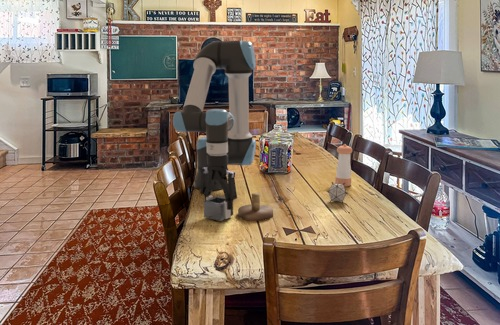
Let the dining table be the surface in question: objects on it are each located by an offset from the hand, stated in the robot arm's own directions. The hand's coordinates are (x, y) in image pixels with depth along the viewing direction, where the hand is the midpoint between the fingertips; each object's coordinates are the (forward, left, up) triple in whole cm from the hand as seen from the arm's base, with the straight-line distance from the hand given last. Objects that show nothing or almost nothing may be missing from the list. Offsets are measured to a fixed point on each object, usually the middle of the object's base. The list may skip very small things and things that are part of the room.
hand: (218, 215), depth 155 cm
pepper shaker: (+20, +70, -1) cm, 73 cm away
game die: (+28, +43, -1) cm, 51 cm away
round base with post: (+9, +11, -1) cm, 14 cm away
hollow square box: (0, 0, 0) cm, 0 cm away
